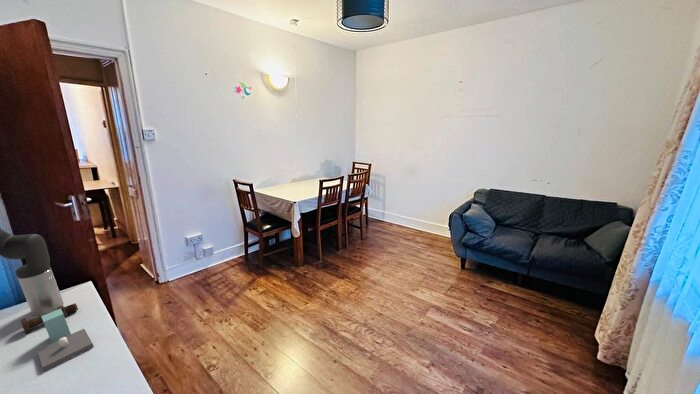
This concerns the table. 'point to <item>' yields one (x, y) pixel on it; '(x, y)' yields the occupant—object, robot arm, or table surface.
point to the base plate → (64, 349)
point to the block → (56, 325)
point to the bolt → (37, 321)
